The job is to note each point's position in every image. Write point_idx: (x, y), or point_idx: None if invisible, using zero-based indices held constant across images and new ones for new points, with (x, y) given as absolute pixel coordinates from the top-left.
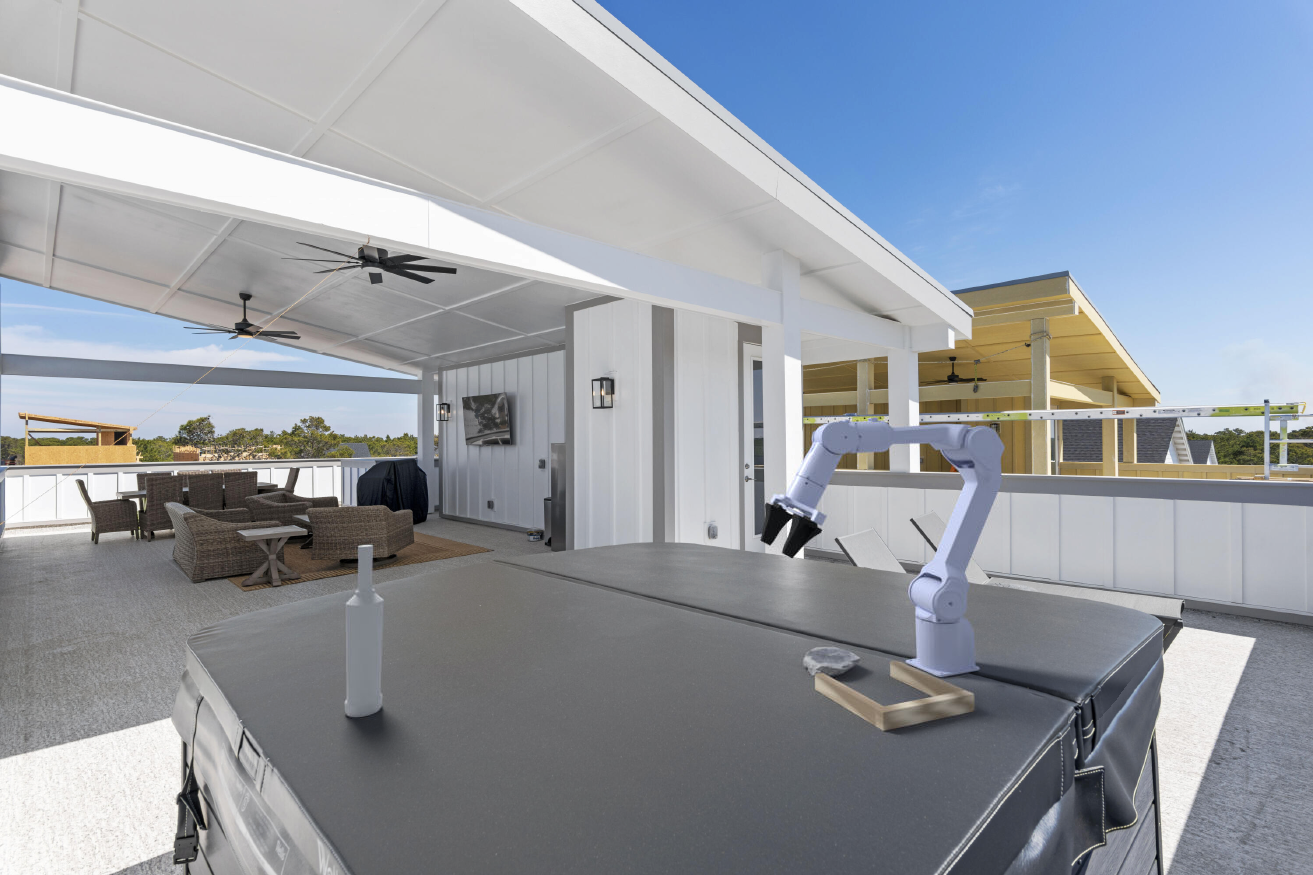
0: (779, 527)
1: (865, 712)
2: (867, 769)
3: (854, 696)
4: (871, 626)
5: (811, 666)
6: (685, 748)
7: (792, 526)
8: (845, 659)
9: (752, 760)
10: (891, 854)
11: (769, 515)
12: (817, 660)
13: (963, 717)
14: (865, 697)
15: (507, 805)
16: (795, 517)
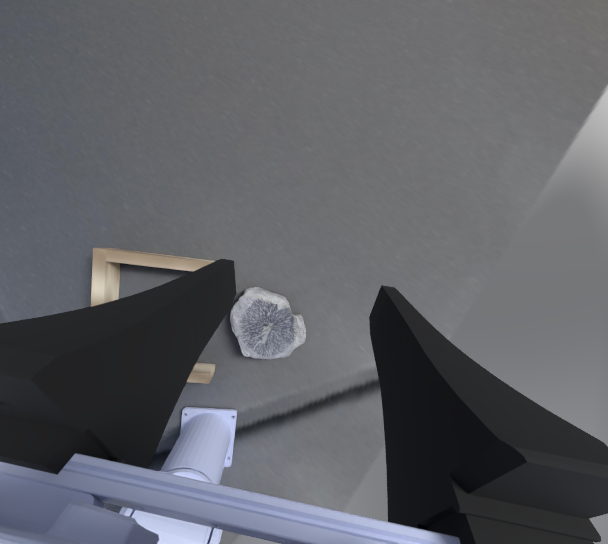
0: (387, 394)
1: (131, 251)
2: (53, 172)
3: (143, 254)
4: (357, 474)
5: (262, 292)
6: (167, 40)
7: (131, 313)
8: (245, 334)
9: (115, 85)
10: None
11: (436, 369)
12: (264, 305)
13: None
14: (135, 262)
15: None
16: (25, 341)
